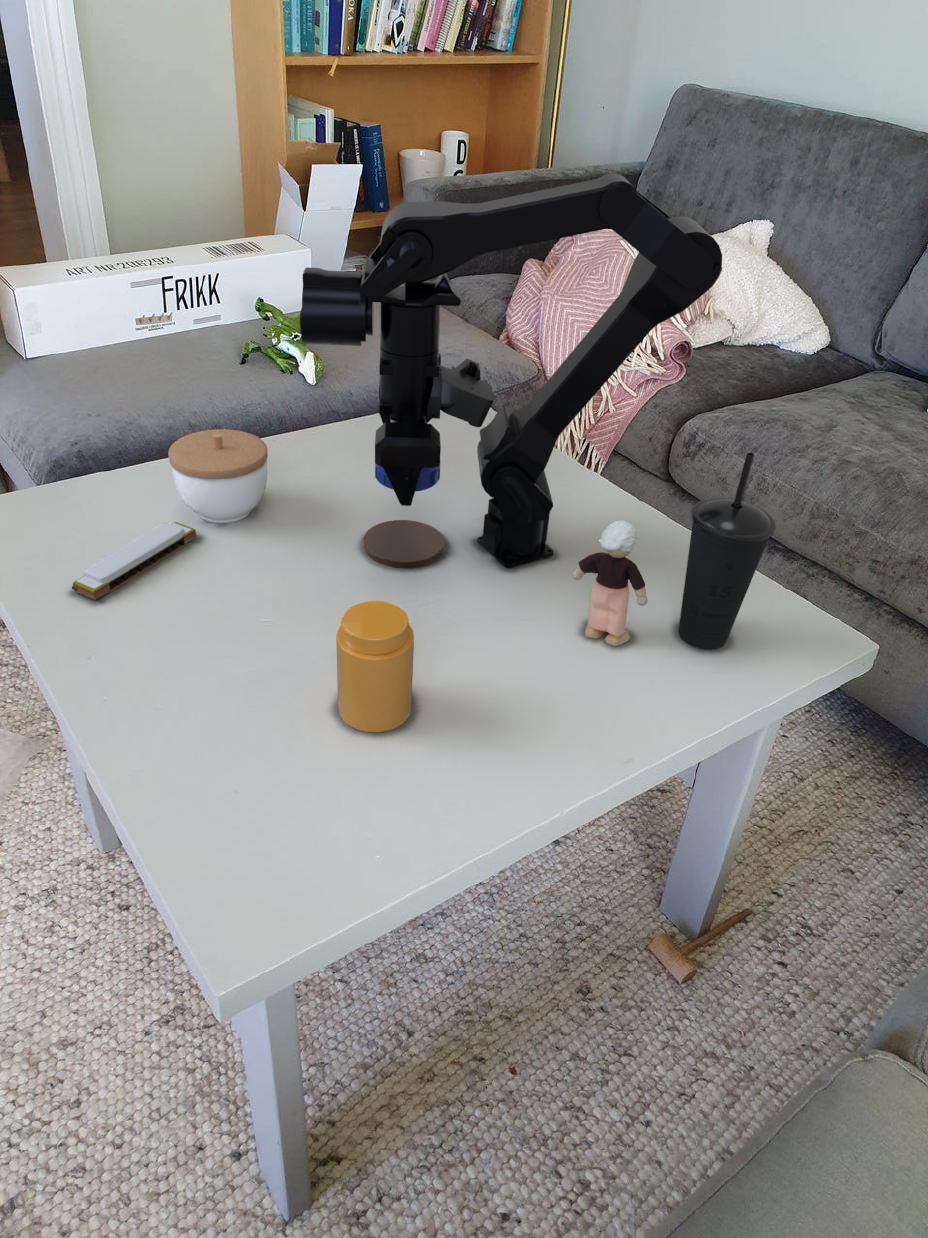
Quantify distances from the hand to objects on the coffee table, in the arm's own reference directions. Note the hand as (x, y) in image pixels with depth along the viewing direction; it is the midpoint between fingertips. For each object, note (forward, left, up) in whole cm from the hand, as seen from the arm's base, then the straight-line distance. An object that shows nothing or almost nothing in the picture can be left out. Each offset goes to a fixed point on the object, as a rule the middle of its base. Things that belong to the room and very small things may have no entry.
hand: (406, 489), depth 98 cm
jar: (+15, +23, -7) cm, 28 cm away
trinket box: (+15, -16, -7) cm, 23 cm away
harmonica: (+27, -9, -7) cm, 29 cm away
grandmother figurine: (-10, +23, -7) cm, 26 cm away
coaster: (0, 0, -7) cm, 7 cm away
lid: (0, 0, +3) cm, 3 cm away
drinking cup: (-19, +28, -7) cm, 35 cm away
